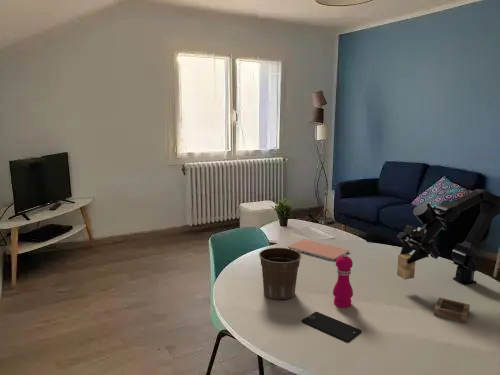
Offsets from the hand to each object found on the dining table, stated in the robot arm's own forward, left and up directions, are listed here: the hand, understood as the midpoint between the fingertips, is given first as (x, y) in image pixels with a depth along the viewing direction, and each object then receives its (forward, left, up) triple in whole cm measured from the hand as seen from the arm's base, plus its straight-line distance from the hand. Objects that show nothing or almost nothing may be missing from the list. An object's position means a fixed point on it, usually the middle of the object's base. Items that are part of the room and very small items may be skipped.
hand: (403, 260), depth 156 cm
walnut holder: (-5, +20, -13) cm, 24 cm away
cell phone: (+40, +15, -13) cm, 44 cm away
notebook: (+10, -52, -13) cm, 55 cm away
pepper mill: (+28, +2, -13) cm, 31 cm away
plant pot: (+47, -13, -13) cm, 50 cm away
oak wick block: (-1, 0, -7) cm, 7 cm away
